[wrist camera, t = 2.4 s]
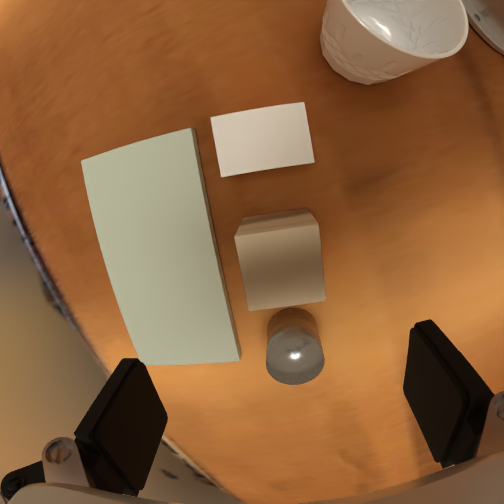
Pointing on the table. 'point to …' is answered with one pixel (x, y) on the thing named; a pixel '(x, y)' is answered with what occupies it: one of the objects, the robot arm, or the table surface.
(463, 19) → the white cup
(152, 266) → the sage board
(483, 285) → the table surface
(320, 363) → the metal cylinder
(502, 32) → the robot arm
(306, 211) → the maple block
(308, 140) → the white block
